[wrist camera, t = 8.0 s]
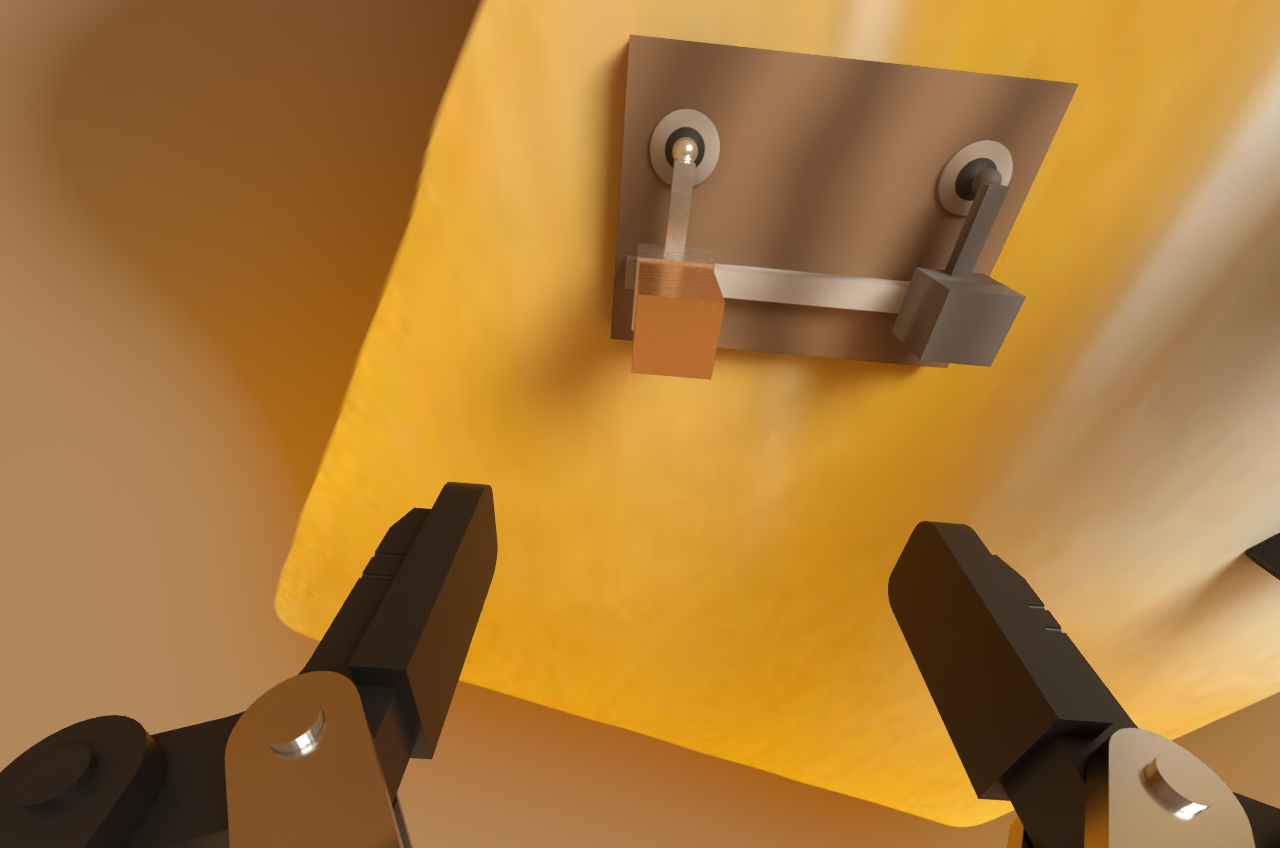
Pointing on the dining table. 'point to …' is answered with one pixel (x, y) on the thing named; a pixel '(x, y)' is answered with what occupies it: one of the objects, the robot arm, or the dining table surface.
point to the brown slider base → (836, 195)
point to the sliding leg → (676, 290)
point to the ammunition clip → (1267, 555)
